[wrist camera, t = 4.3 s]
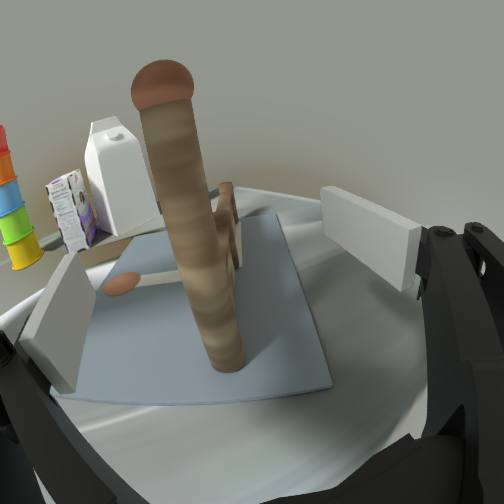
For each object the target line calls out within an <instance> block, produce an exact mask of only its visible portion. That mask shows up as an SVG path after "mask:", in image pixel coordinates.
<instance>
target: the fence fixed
mask: <svg viewBox="0 0 504 504" xmlns="http://www.w3.org/2000/svg"><path fill="white" fill-rule="evenodd" d="M218 189H219V194H220V196H219V201H218V205H217V210H216V212H214V213H213V217H214V222H215V226H216V228H218V227H224V226H228V227H229V246H230V250H231V255H232V260H233V265H234V269H236V268H238V267H239V265H240V264H239V259H238V253H237V248H236V243H235V224H237V223H238V222H239V221H238V215H237V209H236V204H235V198H234V192H233V186H232V182H224V183H221V184H218Z"/></svg>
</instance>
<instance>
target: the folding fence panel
mask: <svg viewBox="0 0 504 504" xmlns="http://www.w3.org/2000/svg"><path fill="white" fill-rule="evenodd" d="M193 91H194V82H193V78H192V76H191V74H190V72H189V71H188V69H187V68H186V67H185V66H183V65H182V64H180V63H178V62H176V61H172V60H158V61H154V62H152V63H150V64H148V65H147V66H145V67H143V69H141V70H140V71H139V73H138V74H137V75H136V76H135V78H134V80H133V83H132V86H131V98H132V101H133V103H134V105H135V107H136V109H137V110H138V111H139V112H140V118H141V123H142V128H143V133H144V138H145V143H146V148H147V152H148V157H149V161H150V165H151V170H152V174H153V179H154V183H155V187H156V191H157V195H158V199H159V203H160V207H161V211H162V214H163V218H164V222H165V225H166V229H167V233H168V236H169V240H170V243H171V247H172V250H173V254H174V257H175V260H176V264H177V267H178V270H179V273H180V276H181V280H182V283H183V286H184V289H185V292H186V295H187V298H188V301H189V304H190V307H191V310H192V313H193V316H194V319H195V322H196V325H197V327H198V330H199V333H200V336H201V338H202V341H203V344H204V347H205V349H206V352H207V355H208V357H209V360H210V363H211V365H212V367H213V368H214V369H215V370H216V371H218V372H221V373H231V372H234V371H236V370H238V369H240V368H241V367H242V366H243V365H244V363H245V360H246V356H245V352H244V348H243V344H242V340H241V336H240V332H239V328H238V323H237V319H236V315H235V270H234V265H233V260H232V255H231V250H230V246H229V227H228V226H224V227H218V228H216V226H215V222H214V217H213V212H212V207H211V202H210V197H209V192H208V188H207V182H206V177H205V172H204V167H203V163H202V157H201V152H200V146H199V141H198V136H197V130H196V125H195V119H194V113H193V108H192V102H191V98H192V95H193Z"/></svg>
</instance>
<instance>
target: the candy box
mask: <svg viewBox="0 0 504 504" xmlns="http://www.w3.org/2000/svg"><path fill="white" fill-rule="evenodd" d="M46 190H47V193H48V197H49V200H50V203H51V206H52V209H53V213H54V216H55V218H56V222H57V224H58V227H59V230H60V233H61V236H62V238H63V241H64V244H65V246H66V249H67V251H68V254H70V253H73V252H76V251H77V252H81V251H84V250H87V249H90V248H91V245H92V242H93V239H94V237H95V234H96V231H97V229H98V227H97V224H96V221H95V218H94V214H93V212H92V209H91V205H90V202H89V199H88V196H87V192H86V188H85V185H84V182H83V178H82V174H81V171H80V169H78V170H75V171H72V172H70V173H68V174H65V175H63V176H61V177H59V178H57V179H56V180H54V181H52V182H51V183H49V184H48V185H46Z"/></svg>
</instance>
